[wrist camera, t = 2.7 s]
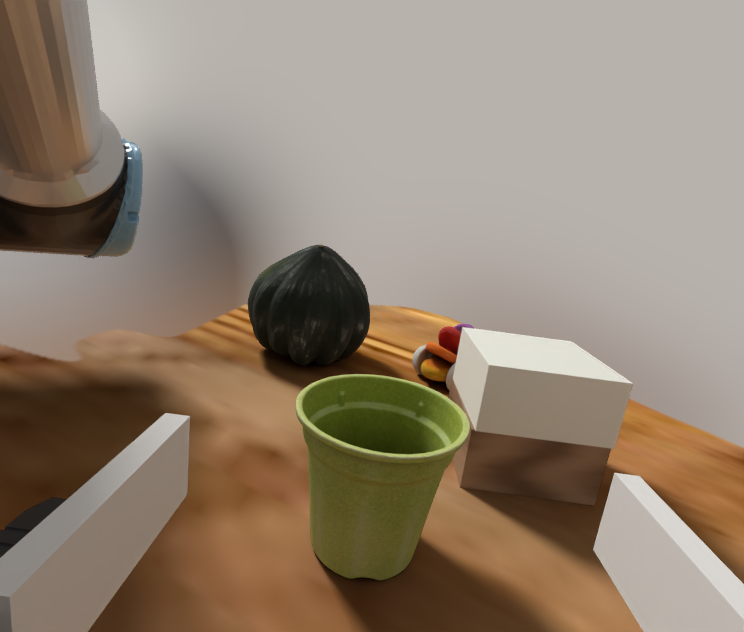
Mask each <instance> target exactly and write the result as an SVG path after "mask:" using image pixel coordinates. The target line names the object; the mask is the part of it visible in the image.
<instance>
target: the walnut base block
mask: <svg viewBox="0 0 744 632" xmlns="http://www.w3.org/2000/svg"><path fill="white" fill-rule="evenodd" d="M448 398H449V399H450V400H452V401H453V402H454V403H456V404H457V405H458V406H459V407H460V408H461V409H462V410H463V411H464V413H465V414H466V416H467V418H468V420H469V424H470V432H469V435H468V438H467V440H466V442H465V443H464V445H463V446H462V447H461V448H460V449H459V450H458V451H456V452H455V455H454V457H453V462H454V466H455V470H456V474H457V478H458V482H459V485H460V487H462V488H469V489H477V490H484V491H491V492H498V493H506V494H513V495H520V496H527V497H535V498H542V499H549V500H556V501H564V502H571V503H578V504H585V505H593V506H595V503H596V499H597V496H598V492H599V489H600V485H601V482H602V478H603V475H604V471H605V468H606V464H607V461H608V457H609V454H610V450H611V448H603V447H595V446H588V445H580V444H572V443H564V442H557V441H549V440H541V439H533V438H526V437H518V436H510V435H502V434H495V433H487V432H479V431H475V429H474V426H473V424H472V422H471V420H470V417H469V415H468V413H467V410H466V408H465V406H464V403H463V401H462V399H461V396H460V394H459V392H458V389H457V387H456V385H455V383H454V380H453V378H452V381H451V386H450V392H449V397H448Z"/></svg>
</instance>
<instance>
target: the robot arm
mask: <svg viewBox="0 0 744 632" xmlns="http://www.w3.org/2000/svg"><path fill="white" fill-rule="evenodd" d="M142 171H143V169H142V154H141V151H140V149H139V148H138V146H137V145H136V144H134V143H132V142H128V141H126V140H125V139H122V138H121V136H120V134H119V132H118V130H117V128H116V127H115V125H114V124H113V123H112V121H111V120H110V119H109V118H108V117H107V116H106V115H105V113H104V112H102V111H101V110H100V109H99V100H98V92H97V83H96V75H95V66H94V58H93V49H92V41H91V32H90V23H89V15H88V6H87V0H0V250H3V251H18V252H33V253H49V254H66V255H81V256H85V257H87V258H95V257H99V256H110V257H112V256H113V257H118V256H123V255H125V254H126V253H128V252H129V251H130V250H131V249H132V247H133V244H134V242H135V238H136V234H137V229H138V221H139V216H138V214H139V210H140V205H141V195H142V173H143V172H142ZM189 433H190V416H185V415H178V414H170V413H165V414H164V415H163V416H161V417H160V418H159V419H158V420H157V421H156V422H155V423H153V424H152V425H151V426H150V427H149V428H148V429H147V430H146V431H144V432H143V433H142V434H141V435H140V436H139V437H138V438H136V439H135V440H134V441H133V442H132V443H131V444H130V445H128V446H127V447H126V448H125V449H124V450H123V451H122V452H120V453H119V454H118V455H117V456H116V457H115V458H114V459H112V460H111V461H110V462H109V463H108V464H107V465H106V466H104V467H103V468H102V469H101V470H100V471H99V472H98V473H97V474H95V475H94V476H93V477H92V478H91V479H90V480H89V481H87V482H86V483H85V484H84V485H83V486H82V487H81V488H79V489H78V490H77V491H76V492H75V493H74V494H73V495H71V496H70V497H69V498H68V499H61V498H54V497H52V498H50V499H48V500H46V501H44V502H42V503H40V504H38V505H36V506H34V507H32V508H30V509H28V510H26V511H25V512H23V513H22V514H21V515H20V516H18V517H17V518H16V519H15V520H13V521H12V522H11V523H10V524H8V525H7V526H6V528H5V530H1V531H0V632H88V631H89V629H90V628H91V626H92V625H93V624H94V622H95V621H96V620H97V618H98V617H99V615H100V614H101V613H102V611H103V610H104V609H105V607H106V606H107V604H108V603H109V602H110V600H111V599H112V598H113V596H114V595H115V593H116V592H117V591H118V589H119V588H120V587H121V585H122V584H123V582H124V581H125V580H126V578H127V577H128V576H129V574H130V573H131V571H132V570H133V569H134V567H135V566H136V565H137V563H138V562H139V560H140V559H141V558H142V556H143V555H144V554H145V552H146V551H147V549H148V548H149V547H150V545H151V544H152V543H153V541H154V540H155V538H156V537H157V536H158V534H159V533H160V531H161V530H162V529H163V527H164V526H165V525H166V523H167V522H168V520H169V519H170V518H171V516H172V515H173V514H174V512H175V511H176V509H177V508H178V507H179V505H180V504H181V503H182V501H183V500H184V498H185V497H186V496H187V488H188V461H189ZM593 550H594V552H595V553H596V555H597V557H598V558H599V560H600V561H601V563H602V565H603V566H604V568H605V570H606V571H607V573H608V575H609V576H610V578H611V579H612V581H613V583H614V584H615V586H616V588H617V589H618V591H619V592H620V594H621V596H622V597H623V599H624V601H625V602H626V604H627V606H628V607H629V609H630V610H631V612H632V614H633V615H634V617H635V619H636V620H637V622H638V623H639V625H640V627H641V628H642V630H643V632H744V584H743V583H742V582H741V581H740V580H739V579H738V578H737V577H736V576H735V575H734V574H733V573H732V572H731V571H730V570H729V568H728V567H727V566H726V565H725V564H724V563H723V562H722V561H721V560H720V559H719V558H718V557H717V556H716V555H715V554H714V553H713V552H712V551H711V550H710V549H709V548H708V547H707V546H706V545H705V544H704V543H703V542H702V541H701V539H700V538H699V537H698V536H697V535H696V534H695V533H694V532H693V531H692V530H691V529H690V528H689V527H688V526H687V525H686V524H685V523H684V522H683V521H682V520H681V519H680V518H679V517H678V516H677V515H676V514H675V513H674V511H673V510H672V509H671V508H670V507H669V506H668V505H667V504H666V503H665V502H664V501H663V500H662V499H661V498H660V497H659V496H658V495H657V494H656V493H655V492H654V491H653V490H652V489H651V488H650V487H649V486H648V485H647V484H646V482H645V481H644V480H643V479H642V478H641V477H640V476H635V475H627V474H620V473H614V476H613V480H612V483H611V487H610V490H609V494H608V498H607V501H606V505H605V508H604V512H603V516H602V519H601V523H600V526H599V530H598V534H597V537H596V541H595V544H594V548H593Z"/></svg>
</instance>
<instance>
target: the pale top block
mask: <svg viewBox="0 0 744 632" xmlns="http://www.w3.org/2000/svg"><path fill="white" fill-rule="evenodd" d="M453 380H454V383H455V385H456V387H457V389H458V392H459V394H460V396H461V399H462V401H463V403H464V406H465V408H466V410H467V413H468V415H469V417H470V420H471V422H472V424H473V426H474V429H475V431H479V432H487V433H495V434H502V435H510V436H518V437H526V438H533V439H541V440H549V441H557V442H564V443H572V444H580V445H588V446H595V447H603V448H611V449H614V448H615V445H616V441H617V438H618V434H619V431H620V428H621V424H622V421H623V417H624V414H625V410H626V407H627V403H628V400H629V396H630V392H631V389H632V386H633V383H631V382H630V381H628V380H627V379H626V378H624V377H623V376H621V375H620V374H618V373H617V372H615V371H614V370H612V369H611V368H609V367H608V366H607V365H605V364H604V363H602V362H601V361H599V360H598V359H596V358H595V357H593V356H592V355H590V354H589V353H588V352H586V351H585V350H583V349H582V348H580V347H579V346H577V345H576V344H574V343H573V342H571V341H564V340H556V339H548V338H540V337H533V336H526V335H517V334H511V333H503V332H495V331H488V330H480V329H473V328H465V327H462V332H461V337H460V343H459V348H458V354H457V359H456V364H455V370H454V375H453Z"/></svg>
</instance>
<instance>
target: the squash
mask: <svg viewBox="0 0 744 632" xmlns="http://www.w3.org/2000/svg"><path fill="white" fill-rule="evenodd" d="M248 311H249V317H250V321H251V324H252V326H253V331H254V334H255V336H256V338H257V339H258V341H259V343H260V344H261V345H262V346H263V347H265V348H267V349H269V350H274V351H275V352H277V353H278V354H280V355H282V356H287V355H290V357H291V358H292V360H293V361H294V362H296V363H297V364H299V365H303V366H304V365H307V364H309V363H310V362H311V361H312V360H313V361H314V362H315V363H316V364H318V365H328V364H330V363H332V362H334V361H335V360H338V359H344V358H347V357H348V356H350V355H352V354H353V353H354V352H355V351H356V350H357V349H358V348H359V347H360V345H361V344H362V342H363V341H364V339H365V337H366V335H367V333H368V329H369V324H370V308H369V303H368V296H367V292H366V288H365V285H364V284H363V282H362V280H361V279H360V277H359V275H358V274H357V273H356V272H355V270H354V269H353V268H352V267H351V266H350V265H349V264H348V263H347V262H346V261H345V260H344V259H343V258H342V257H341V256H340V255H338V254H337V253H336V252H335V251H333V250H332V249H331V248H329V247H327V246H323V245H315V246H310V247H308V248H305V249H302V250H300V251H298V252H296V253H294V254H292V255H290V256H288V257H286V258H284V259H282V260H280V261H278V262H277V263H275V264H273V265H271V266H270V267H269V268H267V269H266V270H264V271H263V272H262V273H261V274H260V275H259V276H258V278H257V279H256V281H255V283H254V285H253V286H252V289H251V291H250V295H249V298H248Z"/></svg>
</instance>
